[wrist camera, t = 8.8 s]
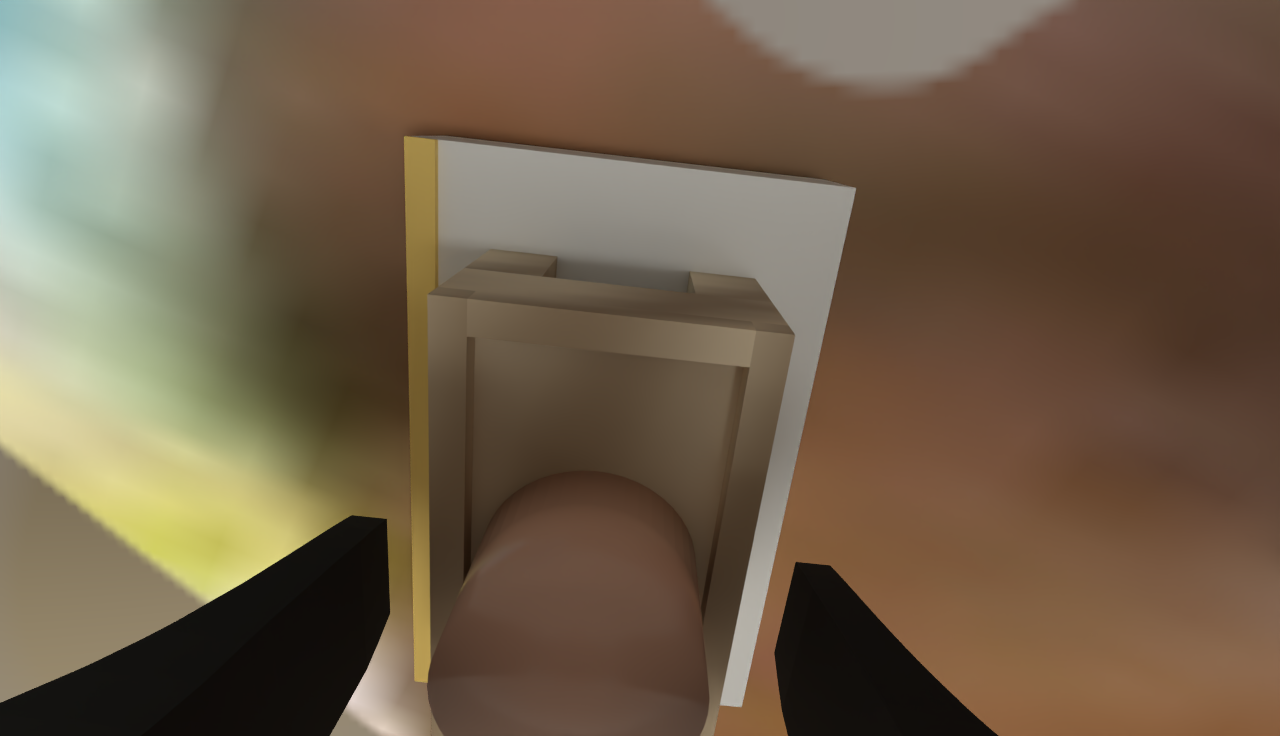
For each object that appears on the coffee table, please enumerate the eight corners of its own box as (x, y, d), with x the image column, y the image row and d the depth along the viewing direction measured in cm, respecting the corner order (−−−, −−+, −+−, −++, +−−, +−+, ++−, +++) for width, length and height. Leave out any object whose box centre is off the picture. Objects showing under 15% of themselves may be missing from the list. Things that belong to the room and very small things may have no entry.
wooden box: (755, 278, 13) (794, 335, 10) (690, 646, 17) (701, 792, 13) (490, 248, 13) (427, 294, 10) (480, 625, 17) (431, 767, 13)
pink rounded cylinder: (709, 482, 11) (728, 599, 8) (681, 658, 13) (690, 809, 10) (483, 459, 11) (425, 571, 8) (479, 638, 12) (429, 786, 10)
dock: (824, 179, 15) (859, 189, 13) (731, 639, 20) (742, 713, 17) (446, 135, 15) (404, 136, 12) (445, 610, 20) (414, 681, 17)
